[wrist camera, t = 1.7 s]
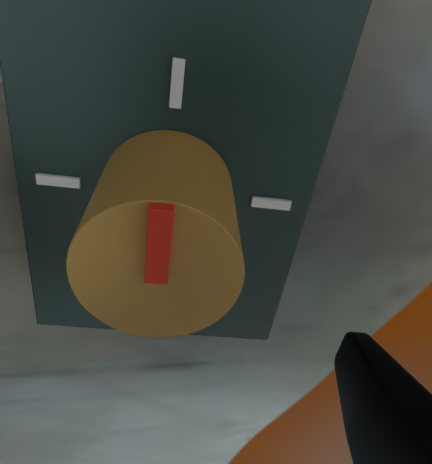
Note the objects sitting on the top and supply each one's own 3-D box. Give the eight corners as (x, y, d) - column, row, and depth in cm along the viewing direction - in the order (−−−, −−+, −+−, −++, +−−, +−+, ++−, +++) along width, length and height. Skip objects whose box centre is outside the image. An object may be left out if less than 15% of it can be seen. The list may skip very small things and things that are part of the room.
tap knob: (222, 249, 15) (230, 352, 11) (102, 238, 15) (67, 341, 11) (242, 138, 13) (262, 218, 9) (100, 120, 12) (55, 197, 8)
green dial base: (259, 294, 21) (268, 343, 18) (57, 278, 20) (35, 327, 17) (345, -28, 13) (382, -25, 10) (22, -84, 12) (-28, -96, 9)
